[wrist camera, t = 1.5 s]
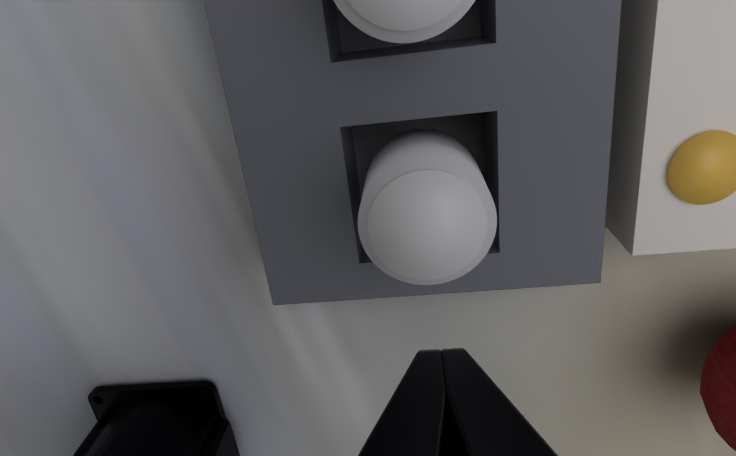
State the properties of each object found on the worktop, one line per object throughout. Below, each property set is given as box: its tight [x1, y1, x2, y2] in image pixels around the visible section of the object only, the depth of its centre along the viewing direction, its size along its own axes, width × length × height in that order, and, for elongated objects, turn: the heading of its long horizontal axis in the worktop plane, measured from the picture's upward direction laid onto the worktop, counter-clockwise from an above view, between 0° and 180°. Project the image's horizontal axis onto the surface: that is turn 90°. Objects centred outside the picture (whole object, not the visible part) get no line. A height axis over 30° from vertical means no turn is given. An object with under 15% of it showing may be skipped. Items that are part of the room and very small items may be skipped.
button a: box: [358, 128, 497, 285], centre depth 16 cm, size 4×4×4 cm
